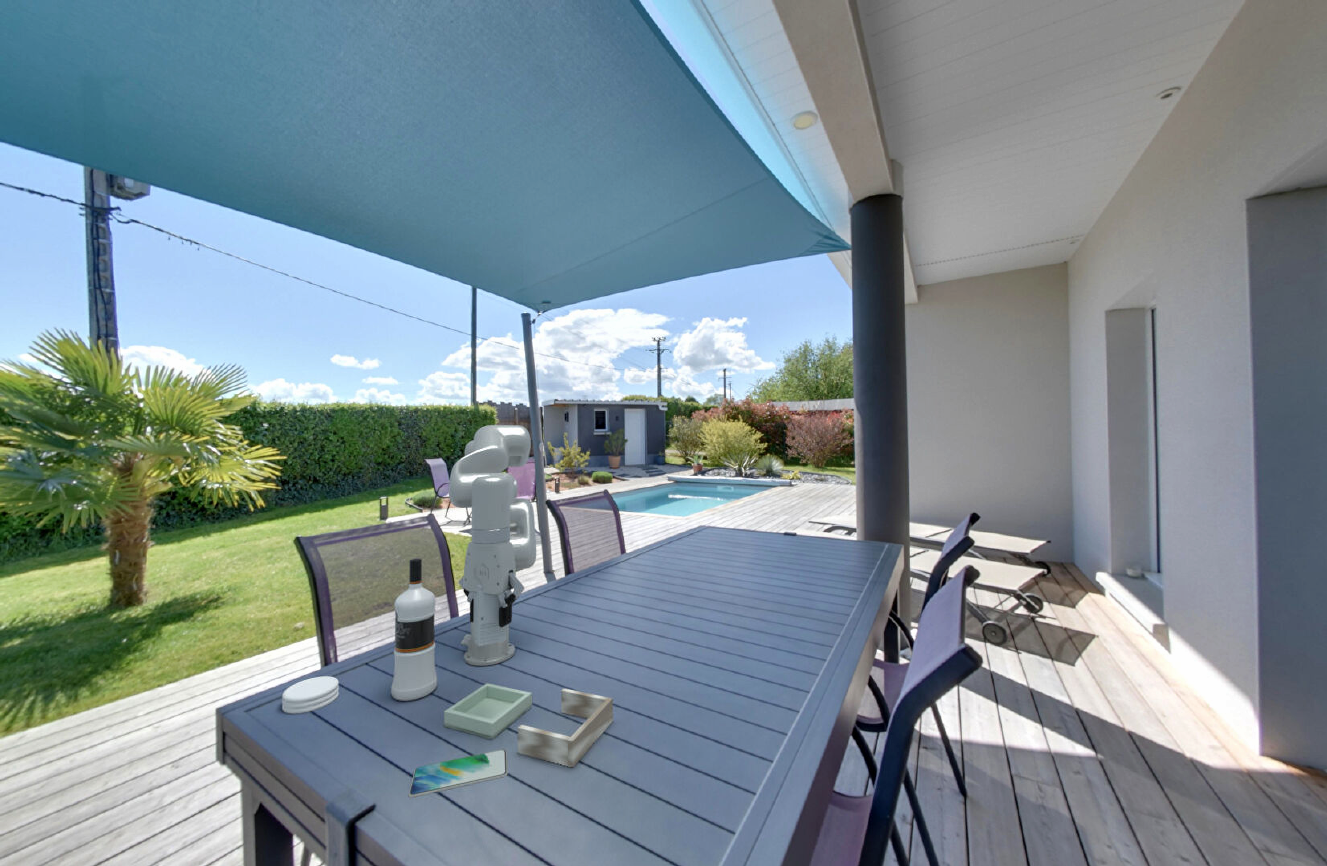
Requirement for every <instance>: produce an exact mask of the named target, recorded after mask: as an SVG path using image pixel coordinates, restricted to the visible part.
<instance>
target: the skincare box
mask: <svg viewBox="0 0 1327 866" xmlns="http://www.w3.org/2000/svg"><path fill="white" fill-rule="evenodd" d="M504 595H505V597H506V599H507V596H506V593H504ZM500 607H502V606H501V603H500V600H499V597H498V595H489V594H484V593H483V586H481V585H478V586H477V593H474V621H473V640H474V642H475V643H476V645H477V646H483V645H487V644H492V643H497V642H501V641H505V640H507V625H506V626H504V627H499V608H500Z"/></svg>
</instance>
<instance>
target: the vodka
mask: <svg viewBox="0 0 1327 866" xmlns="http://www.w3.org/2000/svg"><path fill="white" fill-rule="evenodd" d="M408 563H409V564H408V567H409V571H408V572H409V578H408V579H409V581H408V582H409V583H408V589H407V590H405V591H404V592H402V593H400V595H399V596H397V598H396V599H395V601H394V604H393V606H394V615H395V616H394V651H393V655H394V669H393V670H394V671H393V680H392V683H391V691H390V692H391V693H390V694H391V696H392V698H393V699H395V700H398V701H401V702H410V701H411V702H412V701H415V700H419V699H422V698H424V697H426V696H428V695H430V694H431V693H432V692H434V690H436V688H437V686H438V675H437V672H436V662H435V652H436V651H435V648H436V643H435V613H436V600H437V599H436V596H435V594H434V593H433V592H432V591H430V590H429V589H427V588H425V587H423V586H422V585H423V584H422V582H423V581H422V580H423V576H422V575H423V573H422V572H423V570H422V568H423V566H422V565H423V559H422V558H418V557H417V558H411V559H409V562H408Z"/></svg>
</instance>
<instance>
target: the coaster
mask: <svg viewBox="0 0 1327 866" xmlns="http://www.w3.org/2000/svg"><path fill="white" fill-rule="evenodd" d="M339 684H340V682H339V680H338V679H337V678H336V677H333V676H327V675H325V676H324V675H323V676H316V677H311V678H308V679H307V678H306V679H305V680H301V681H299V682H296V683H294V684H293V685H290V686H288V688H286V689H285V690H284V691H283V693H282V695H281V698H282V700H281V703H282V705H281V709H282V711H283V712H284V713H287V714H292V715H293V714H294V715H295V714H297V715H298V714H304V713H310V712H313V711H316V710H319V709H321V708H324V707H326V706H328V705H330V704H331V703H332V702H335V700H336V699H337V698H338V697H339V694H340V693H339V692H340V691H339Z"/></svg>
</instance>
